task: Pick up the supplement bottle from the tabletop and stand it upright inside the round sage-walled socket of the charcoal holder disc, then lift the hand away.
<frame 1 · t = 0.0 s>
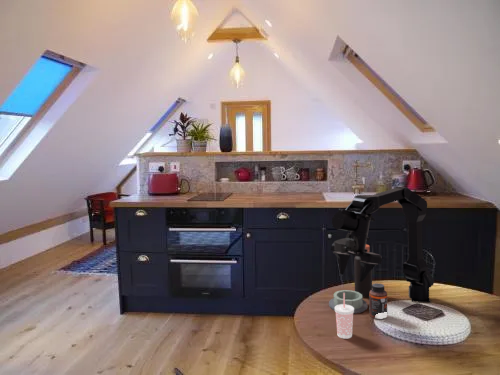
hand: (350, 278, 133), 15 cm above the table, tool pointing down, fingers open, 9 cm apart
vinegar: (363, 294, 158), on the table
beverage cup: (344, 335, 126), on the table
can holder: (347, 305, 148), on the table
supplement bottle: (378, 316, 138), on the table
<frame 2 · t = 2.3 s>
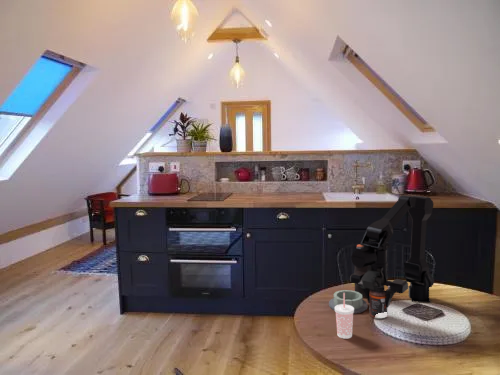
hand: (378, 305, 138), 4 cm above the table, tool pointing down, fingers closed on supplement bottle, 6 cm apart
supplement bottle: (378, 316, 138), on the table, touching gripper
everything else where it was.
when the fingers open (6 cm above the table, at t = 6.9 s): supplement bottle drops 2 cm, resting on can holder.
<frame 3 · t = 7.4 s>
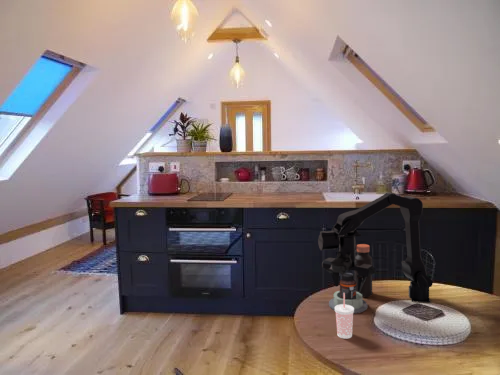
hand: (347, 288, 147), 6 cm above the table, tool pointing down, fingers open, 9 cm apart
supplement bottle: (348, 304, 148), point 1 cm above the table, touching can holder
everything else where it was.
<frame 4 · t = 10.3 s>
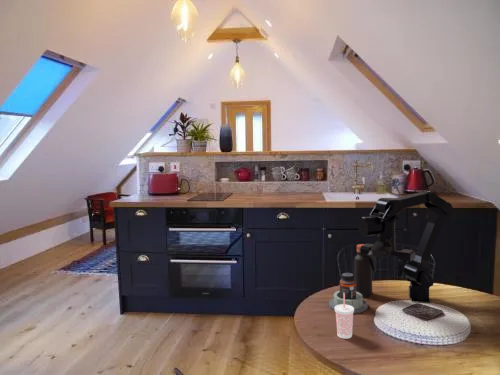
hand: (386, 274, 145), 12 cm above the table, tool pointing down, fingers open, 9 cm apart
nothing on the table moved.
at the end: supplement bottle 0.1 cm off-centre on the can holder, point 0.6 cm above the can holder's base; supplement bottle tilted 0°; the gripper is holding nothing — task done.
